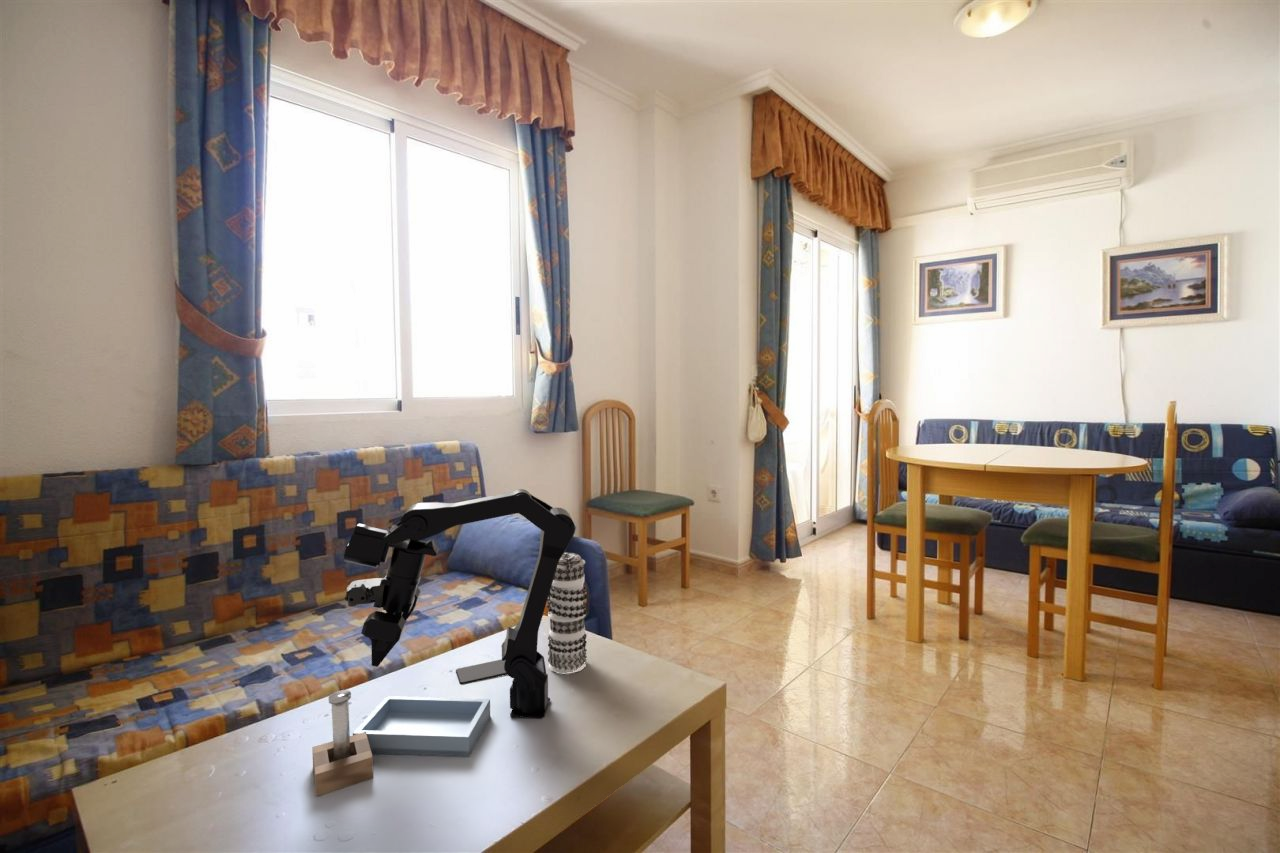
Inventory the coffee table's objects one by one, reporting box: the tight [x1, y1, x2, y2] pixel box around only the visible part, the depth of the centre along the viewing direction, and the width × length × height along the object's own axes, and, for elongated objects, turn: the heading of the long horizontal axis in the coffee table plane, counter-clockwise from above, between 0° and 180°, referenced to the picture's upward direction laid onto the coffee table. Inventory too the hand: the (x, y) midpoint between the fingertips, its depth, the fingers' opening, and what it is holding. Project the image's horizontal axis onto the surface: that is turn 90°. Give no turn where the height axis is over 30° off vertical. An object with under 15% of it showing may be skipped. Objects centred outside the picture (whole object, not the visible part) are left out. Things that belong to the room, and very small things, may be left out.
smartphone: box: [455, 658, 508, 685], centre depth 129 cm, size 7×1×15 cm
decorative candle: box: [546, 552, 588, 673], centre depth 131 cm, size 9×9×25 cm
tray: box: [352, 695, 491, 758], centre depth 105 cm, size 20×12×4 cm, turn 87°
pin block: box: [311, 732, 374, 797], centre depth 95 cm, size 8×8×4 cm
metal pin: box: [328, 689, 352, 761], centre depth 95 cm, size 3×3×13 cm
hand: (381, 653), depth 107 cm, fingers open, 9 cm apart
